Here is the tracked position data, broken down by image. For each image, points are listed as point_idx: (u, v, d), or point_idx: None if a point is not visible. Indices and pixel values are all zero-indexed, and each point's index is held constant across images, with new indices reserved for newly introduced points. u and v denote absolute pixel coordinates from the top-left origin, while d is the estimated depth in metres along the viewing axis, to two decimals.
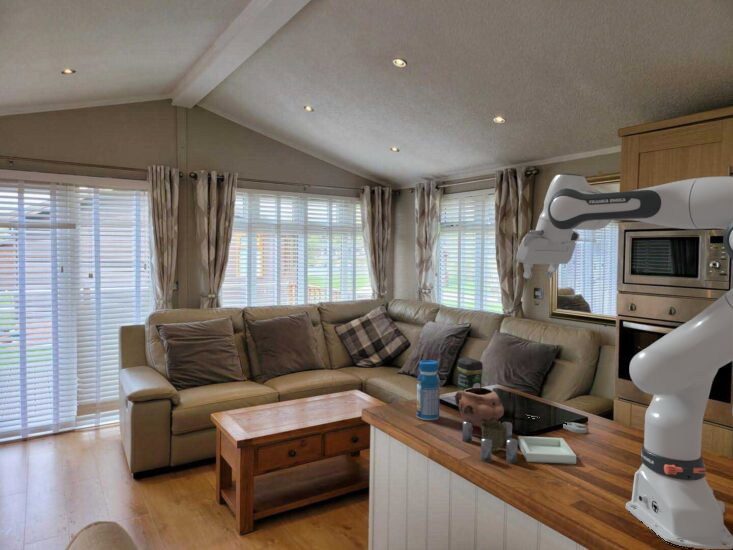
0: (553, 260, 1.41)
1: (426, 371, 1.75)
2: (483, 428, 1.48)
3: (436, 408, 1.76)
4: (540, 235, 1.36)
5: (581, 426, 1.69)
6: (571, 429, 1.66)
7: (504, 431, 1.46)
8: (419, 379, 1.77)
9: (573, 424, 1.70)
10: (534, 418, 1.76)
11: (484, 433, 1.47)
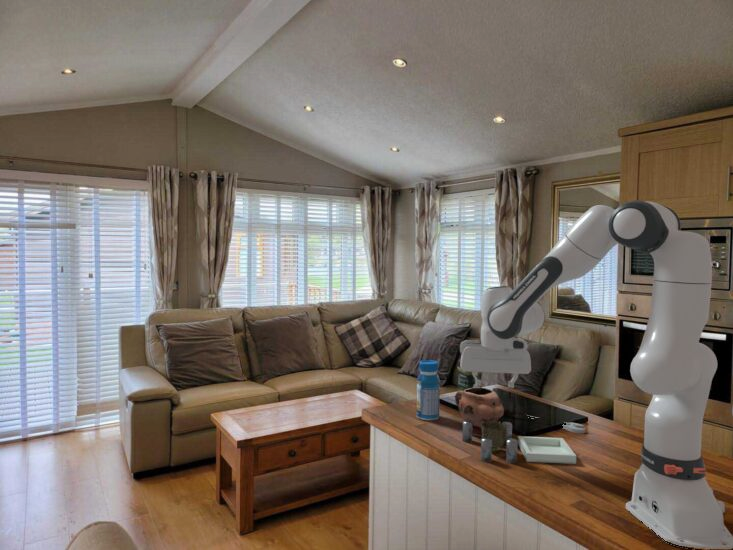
0: (503, 369, 1.46)
1: (426, 371, 1.75)
2: (483, 428, 1.48)
3: (436, 408, 1.76)
4: (478, 344, 1.48)
5: (580, 426, 1.69)
6: (569, 429, 1.66)
7: (504, 431, 1.46)
8: (419, 379, 1.77)
9: (572, 424, 1.70)
10: (533, 418, 1.76)
11: (484, 433, 1.47)
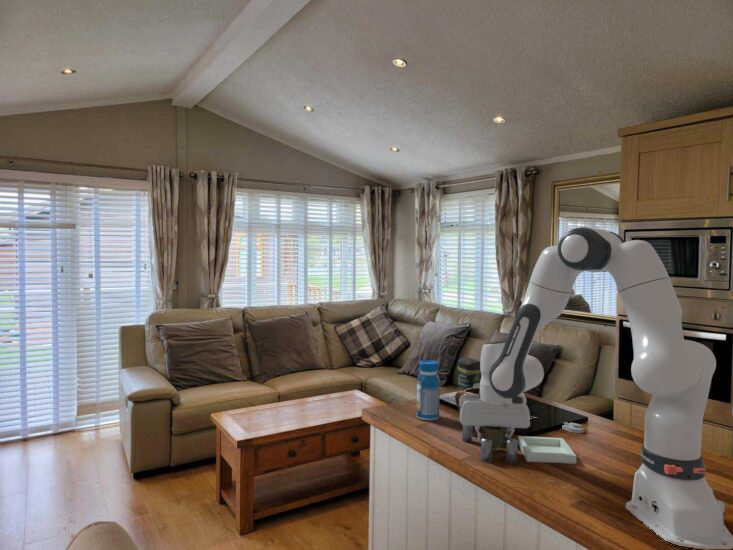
0: (502, 423, 1.47)
1: (426, 371, 1.75)
2: (483, 428, 1.48)
3: (436, 408, 1.76)
4: (477, 398, 1.49)
5: (578, 426, 1.69)
6: (568, 429, 1.66)
7: (504, 431, 1.46)
8: (419, 379, 1.77)
9: (570, 424, 1.70)
10: (531, 418, 1.76)
11: (484, 433, 1.47)
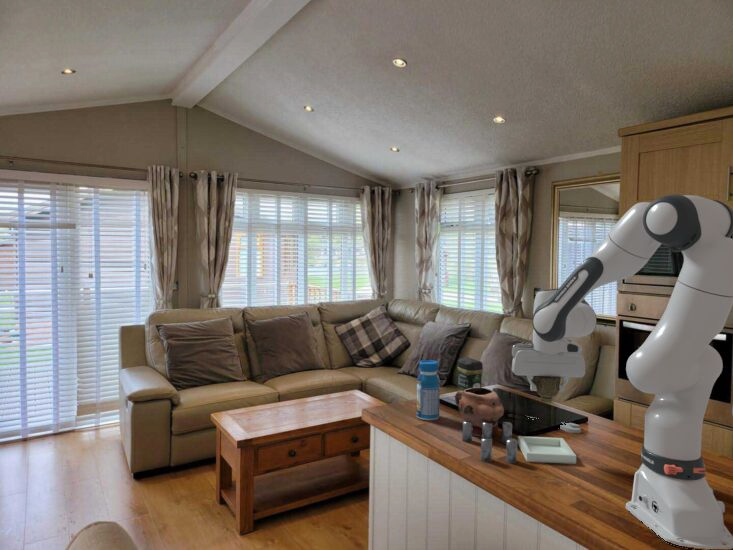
0: (556, 373, 1.44)
1: (426, 371, 1.75)
2: (537, 378, 1.45)
3: (436, 408, 1.76)
4: (530, 348, 1.46)
5: (575, 426, 1.69)
6: (565, 429, 1.66)
7: (558, 381, 1.44)
8: (419, 379, 1.77)
9: (567, 424, 1.70)
10: (528, 418, 1.76)
11: (538, 383, 1.45)
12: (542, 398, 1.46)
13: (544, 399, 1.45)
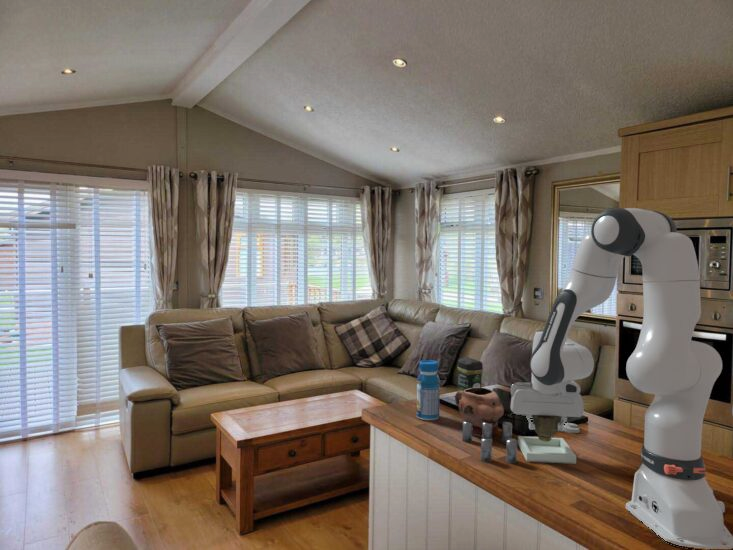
0: (555, 412, 1.45)
1: (426, 371, 1.75)
2: (535, 417, 1.46)
3: (436, 408, 1.76)
4: (529, 387, 1.47)
5: (574, 426, 1.69)
6: (564, 429, 1.66)
7: (557, 420, 1.45)
8: (419, 379, 1.77)
9: (566, 424, 1.70)
10: None
11: (536, 422, 1.46)
12: (540, 437, 1.47)
13: (542, 438, 1.46)
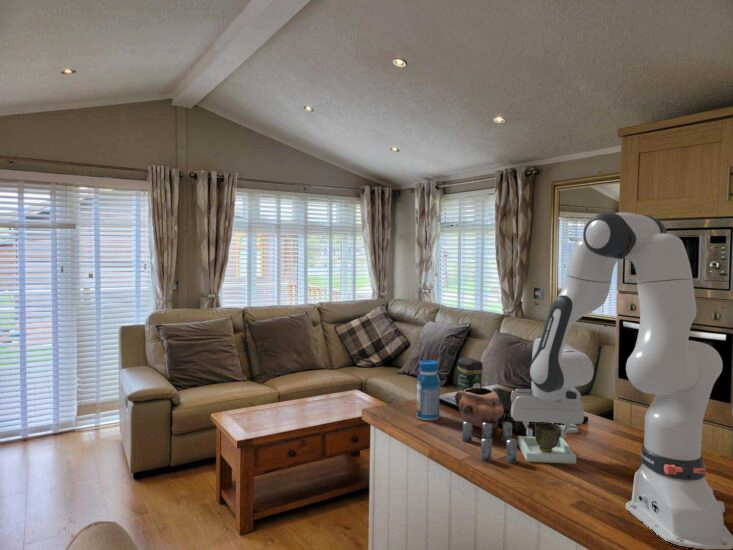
0: (555, 419, 1.45)
1: (426, 371, 1.75)
2: (537, 428, 1.46)
3: (436, 408, 1.76)
4: (529, 394, 1.47)
5: (572, 426, 1.69)
6: None
7: (559, 433, 1.45)
8: (419, 379, 1.77)
9: None
10: None
11: (538, 433, 1.46)
12: (541, 448, 1.47)
13: (543, 449, 1.46)
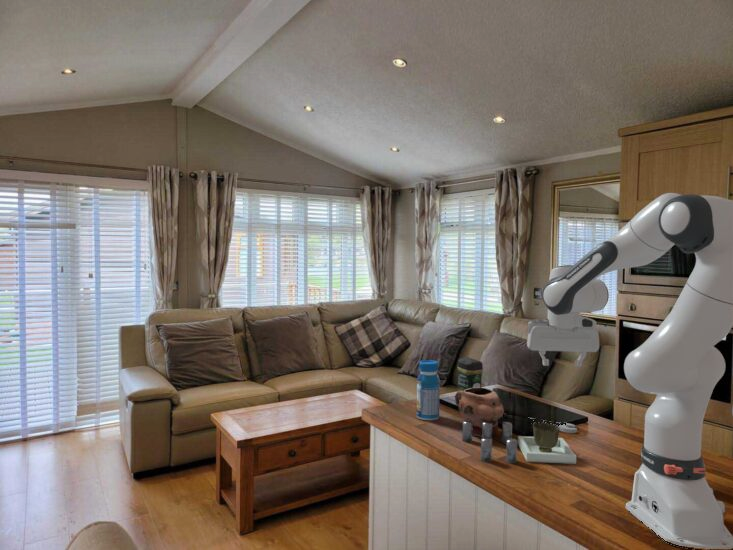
0: (571, 347, 1.48)
1: (426, 371, 1.75)
2: (535, 429, 1.46)
3: (436, 408, 1.76)
4: (546, 323, 1.49)
5: (571, 426, 1.69)
6: (561, 429, 1.66)
7: (557, 432, 1.45)
8: (419, 379, 1.77)
9: (563, 424, 1.70)
10: None
11: (536, 434, 1.46)
12: (541, 449, 1.47)
13: (543, 450, 1.46)
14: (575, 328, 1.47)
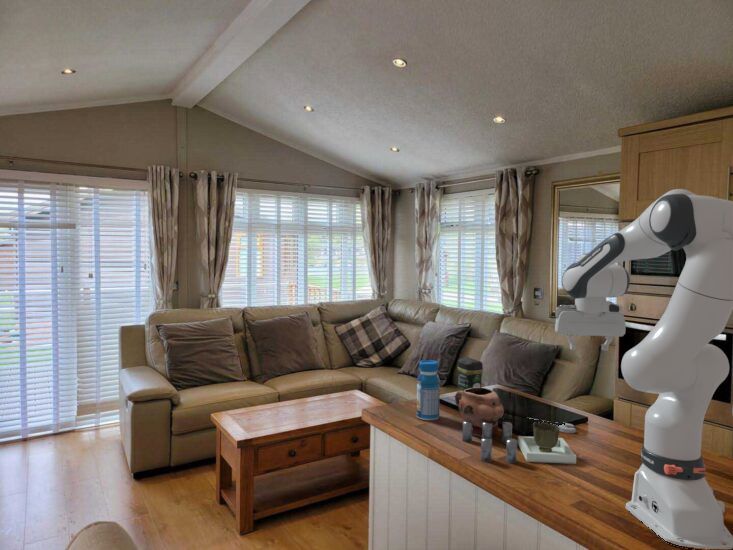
0: (598, 332, 1.53)
1: (426, 371, 1.75)
2: (535, 429, 1.46)
3: (436, 408, 1.76)
4: (573, 309, 1.55)
5: (570, 426, 1.69)
6: (560, 429, 1.66)
7: (557, 432, 1.45)
8: (419, 379, 1.77)
9: (562, 424, 1.70)
10: None
11: (536, 434, 1.46)
12: (541, 449, 1.47)
13: (543, 450, 1.46)
14: (602, 313, 1.53)
